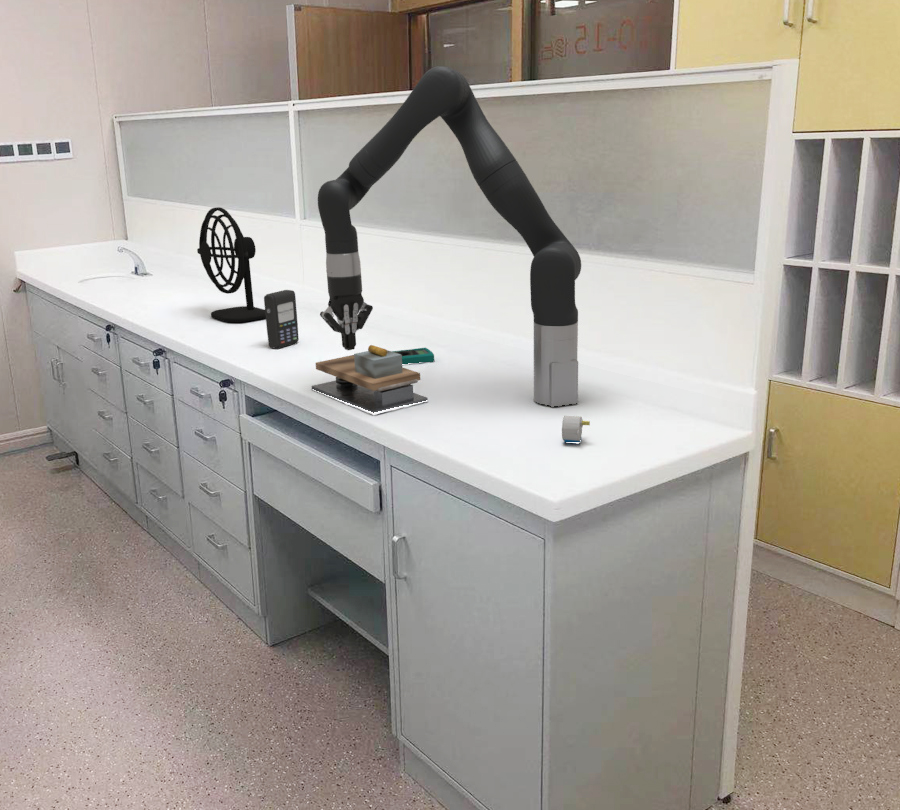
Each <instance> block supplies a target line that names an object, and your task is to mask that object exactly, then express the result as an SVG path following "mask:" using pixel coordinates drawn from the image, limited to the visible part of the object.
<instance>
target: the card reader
mask: <svg viewBox="0 0 900 810" xmlns="http://www.w3.org/2000/svg"><path fill="white" fill-rule="evenodd" d="M296 299H297V298H296V292H295V291H294V290H293V289H292V290H291V289H284V290H279V291H275V292H271V293H266V294H265V295H264V297H263V301H264V305H263V306H264V310H265V315H266V318H265V323H266V333H267V341H268V347H270V348H271V349H281V348H285V347H288V346H291V345H294V344H297V343H298V342H299V327H298V314H297V300H296Z"/></svg>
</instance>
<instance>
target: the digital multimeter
mask: <svg viewBox="0 0 900 810" xmlns="http://www.w3.org/2000/svg"><path fill="white" fill-rule="evenodd" d="M390 351H391V352H395V353H398V354H401V355H402V364H408V363H419V362H430V363H434V362H435V354H434V353H433V351H432V350H430V349H429V348H428V347H418V348H411V349H403V350H395V351H394V350H390ZM433 361H434V362H433ZM419 364H420V363H419Z"/></svg>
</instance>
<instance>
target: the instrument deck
mask: <svg viewBox="0 0 900 810" xmlns="http://www.w3.org/2000/svg"><path fill="white" fill-rule="evenodd" d="M367 349H368V350H367V351H362V352H356V353H354V354H352V355H347V356H343V357H341V356H340V357H337V358H332V359H326V360H323V361H317V362H315V369H316V370H317V371H321V372H323V373H325V374H328V375H331V376H333V377H335V378H336V377H338V378H341V379H343V380H346V381H349V382H351V383H354V384H357V385H359V386H362V387H364V388H367V389H370V390H372V391H376V390H377V392H380V391H384V390H388V389H392V388H397V387H401V386H405V385H409V384H411V385H413V384H416V383H419V381H421V373H420V372H417V371H414V370H412V369H409V368H405V367H403V365H402V355H401V354H398V353H395V352H391V351H392V350H388V349H386V348H384V347H380V346H376V345H373V344H370V345H369V346H368V348H367Z"/></svg>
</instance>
